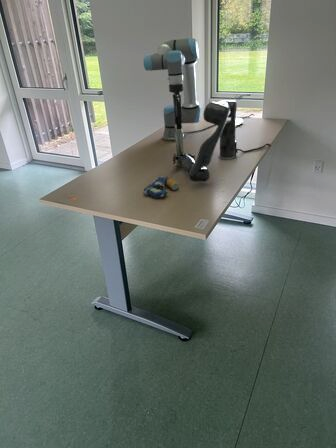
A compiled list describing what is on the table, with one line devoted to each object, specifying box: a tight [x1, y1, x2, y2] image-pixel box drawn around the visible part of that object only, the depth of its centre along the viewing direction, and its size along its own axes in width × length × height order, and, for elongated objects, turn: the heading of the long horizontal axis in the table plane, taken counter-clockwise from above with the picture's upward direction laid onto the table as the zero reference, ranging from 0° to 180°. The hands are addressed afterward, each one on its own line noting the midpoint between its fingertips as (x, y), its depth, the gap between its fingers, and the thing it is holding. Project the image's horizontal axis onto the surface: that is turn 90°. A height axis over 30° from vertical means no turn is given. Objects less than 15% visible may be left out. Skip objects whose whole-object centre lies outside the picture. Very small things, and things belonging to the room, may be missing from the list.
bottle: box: [175, 129, 185, 168], centre depth 194 cm, size 4×4×24 cm
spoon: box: [236, 117, 244, 127], centre depth 260 cm, size 35×11×2 cm, turn 159°
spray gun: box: [143, 175, 180, 199], centre depth 172 cm, size 21×4×15 cm
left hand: (178, 127), depth 189 cm, fingers closed on cap, 4 cm apart
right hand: (178, 154), depth 199 cm, fingers closed on bottle, 4 cm apart
